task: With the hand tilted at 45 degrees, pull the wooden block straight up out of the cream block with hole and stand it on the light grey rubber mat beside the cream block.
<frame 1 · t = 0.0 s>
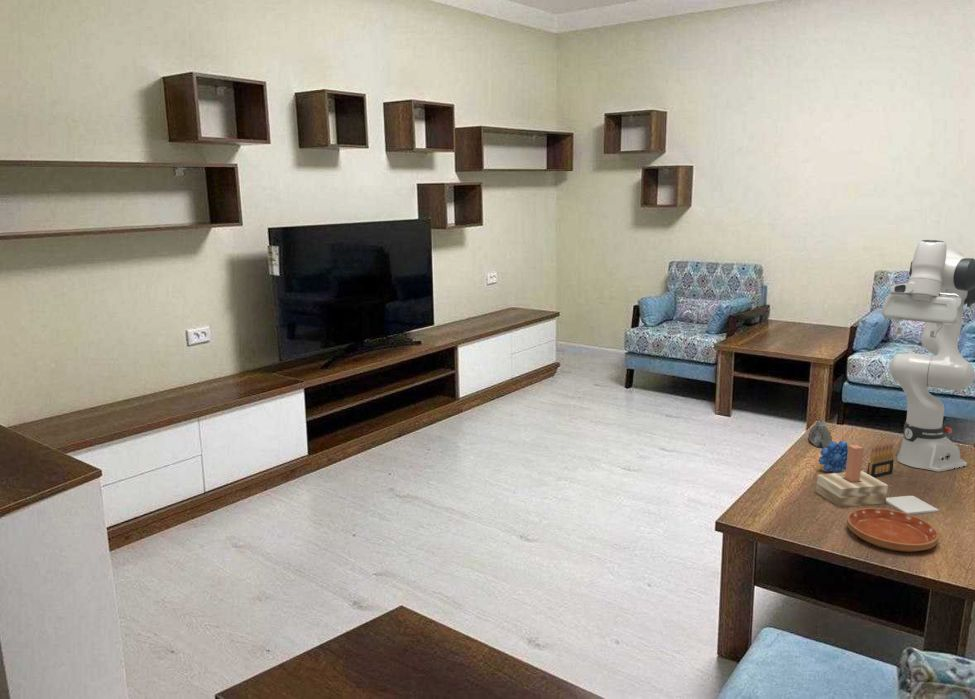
hand: (915, 335, 231), 52 cm above the table, tool tilted 20°, fingers open, 8 cm apart
cream block with hole: (850, 497, 240), on the table
grapes: (836, 473, 261), on the table
mineral rock: (820, 443, 291), on the table
wooden block: (851, 488, 240), point 3 cm above the table, touching cream block with hole
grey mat: (909, 505, 234), on the table
ammunition clip: (879, 475, 259), on the table
saucer: (890, 537, 215), on the table
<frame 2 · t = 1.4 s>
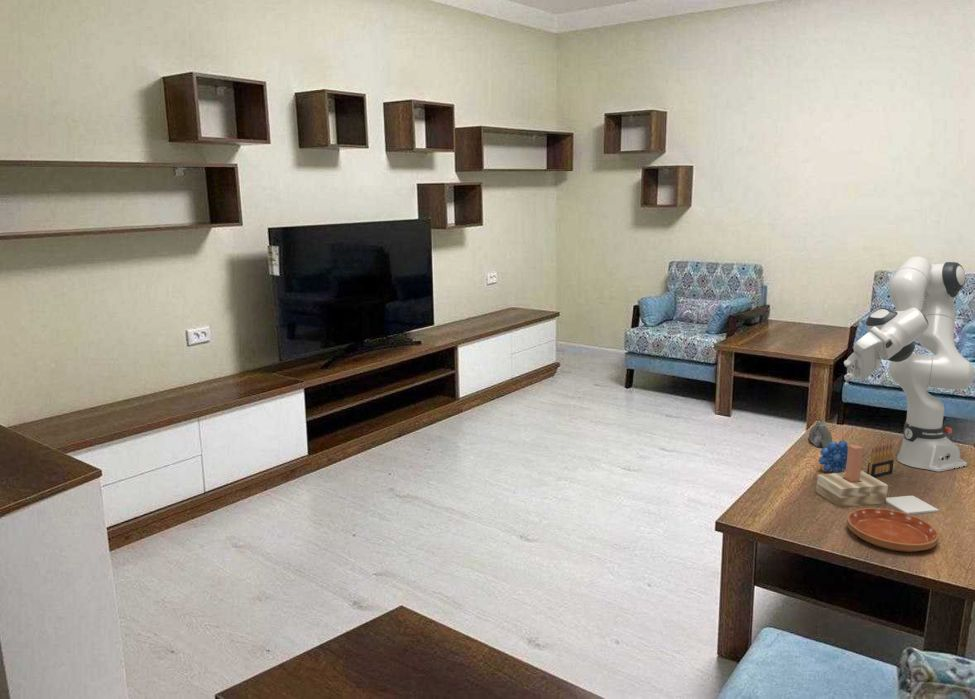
hand: (845, 372, 239), 39 cm above the table, tool tilted 55°, fingers open, 8 cm apart
nothing on the table moved.
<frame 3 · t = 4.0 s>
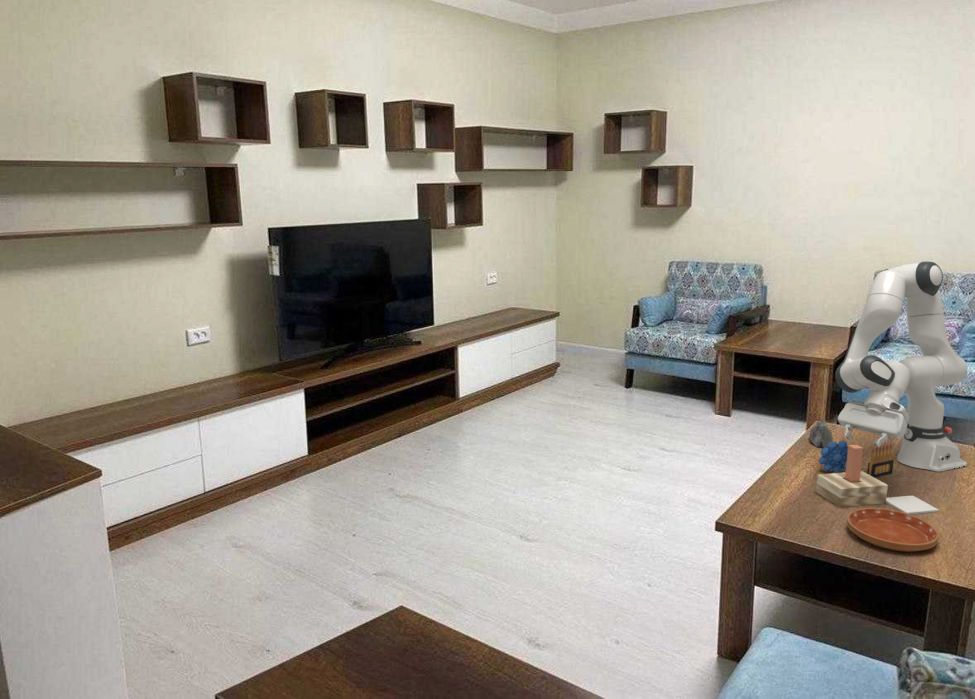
hand: (861, 441, 241), 17 cm above the table, tool tilted 45°, fingers open, 8 cm apart
nothing on the table moved.
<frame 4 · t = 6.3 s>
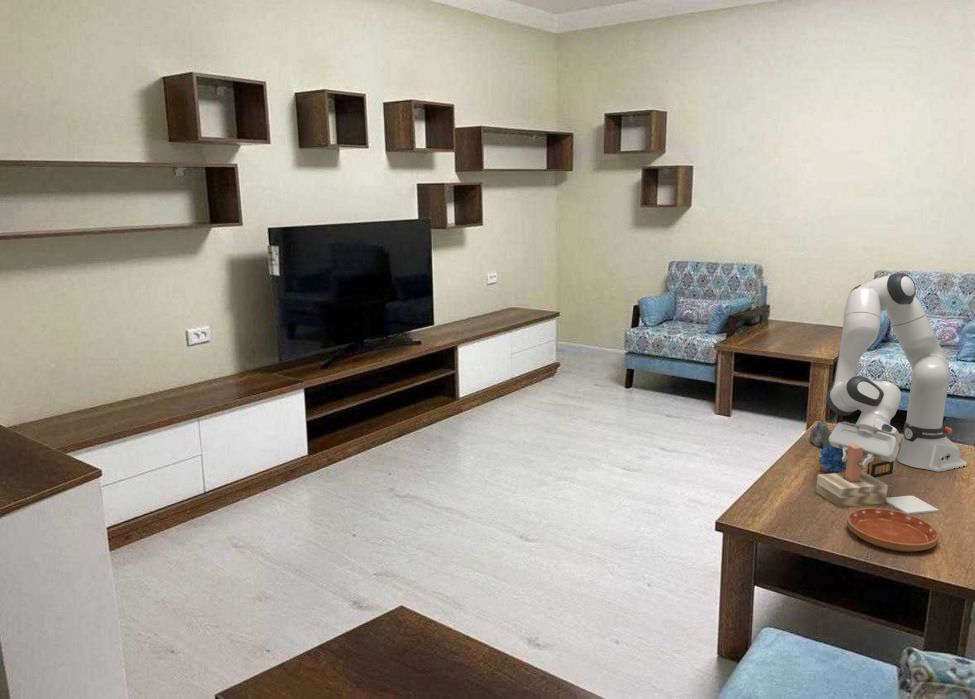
hand: (853, 463, 238), 11 cm above the table, tool tilted 45°, fingers closed on wooden block, 4 cm apart
wooden block: (851, 488, 240), point 3 cm above the table, touching gripper, cream block with hole
everything else where it was.
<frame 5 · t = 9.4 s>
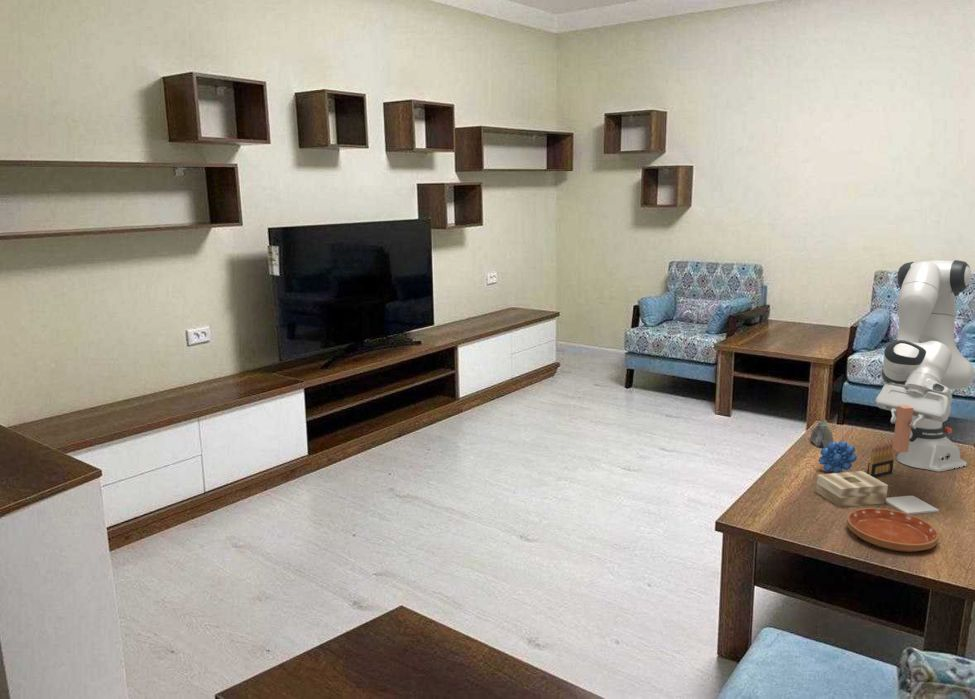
hand: (902, 425, 230), 26 cm above the table, tool tilted 45°, fingers closed on wooden block, 4 cm apart
wooden block: (900, 450, 232), point 17 cm above the table, touching gripper
everything else where it was.
when the fingers open (10 cm above the table, at t = 12.4 s): wooden block drops 1 cm, resting on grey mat.
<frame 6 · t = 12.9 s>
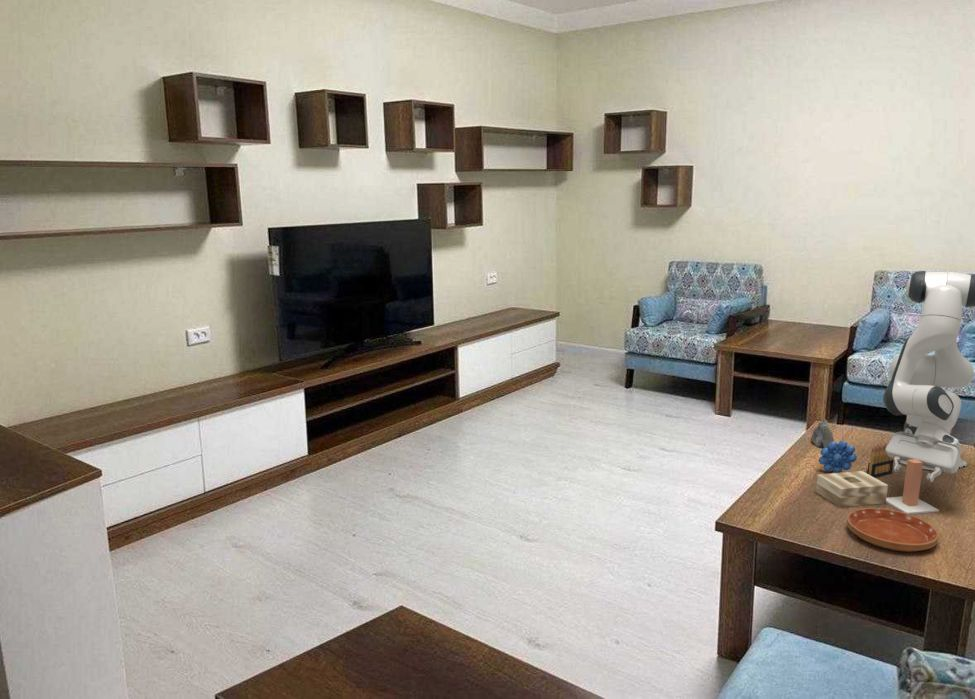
hand: (912, 475, 232), 10 cm above the table, tool tilted 45°, fingers open, 8 cm apart
wooden block: (909, 503, 234), point 1 cm above the table, touching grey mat
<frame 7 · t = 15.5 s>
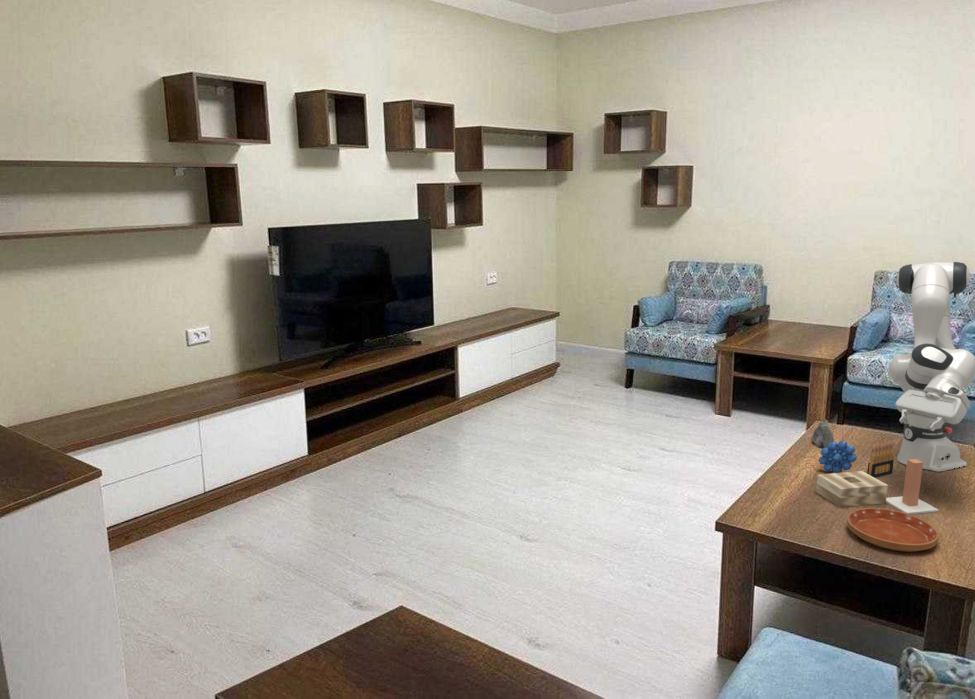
hand: (915, 425, 234), 24 cm above the table, tool tilted 50°, fingers open, 8 cm apart
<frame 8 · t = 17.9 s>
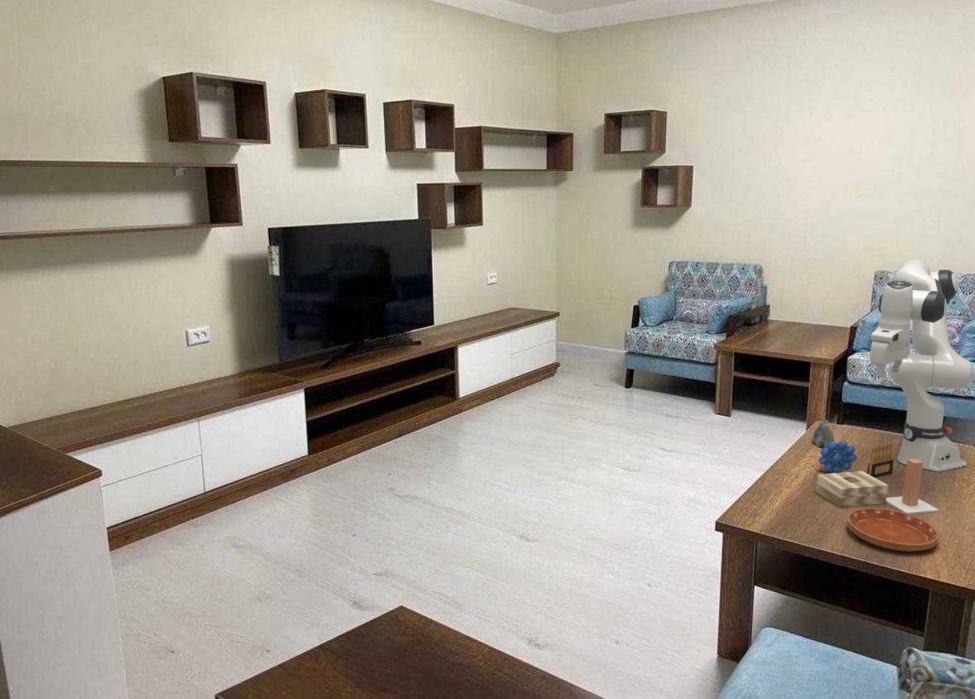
hand: (888, 374, 244), 37 cm above the table, tool pointing down, fingers open, 8 cm apart
at the end: wooden block inside the target area on the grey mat (0.1 cm from its centre), point 0.6 cm above the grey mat's base; the gripper is holding nothing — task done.
